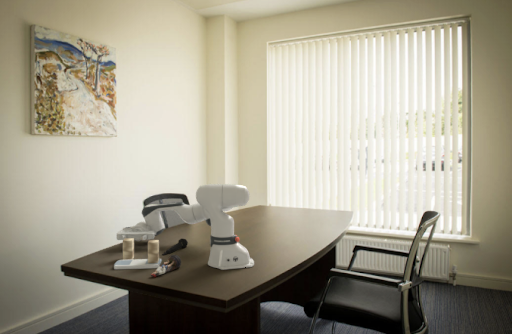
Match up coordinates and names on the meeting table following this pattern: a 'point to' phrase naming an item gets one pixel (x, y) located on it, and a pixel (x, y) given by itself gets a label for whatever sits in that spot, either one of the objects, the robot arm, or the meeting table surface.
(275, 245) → the meeting table surface
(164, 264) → the figurine
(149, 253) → the standing pillar
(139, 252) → the meeting table surface
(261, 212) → the meeting table surface
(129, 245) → the loose pillar
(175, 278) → the meeting table surface
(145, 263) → the white base board
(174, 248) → the microphone
